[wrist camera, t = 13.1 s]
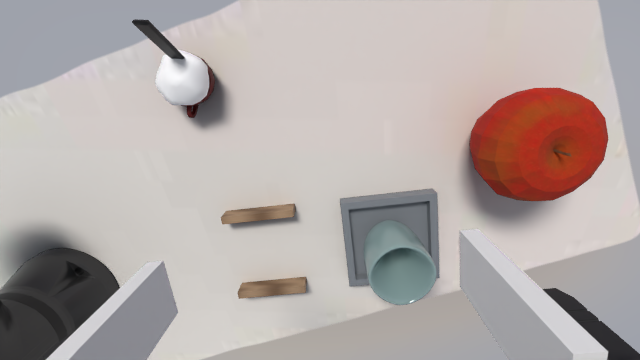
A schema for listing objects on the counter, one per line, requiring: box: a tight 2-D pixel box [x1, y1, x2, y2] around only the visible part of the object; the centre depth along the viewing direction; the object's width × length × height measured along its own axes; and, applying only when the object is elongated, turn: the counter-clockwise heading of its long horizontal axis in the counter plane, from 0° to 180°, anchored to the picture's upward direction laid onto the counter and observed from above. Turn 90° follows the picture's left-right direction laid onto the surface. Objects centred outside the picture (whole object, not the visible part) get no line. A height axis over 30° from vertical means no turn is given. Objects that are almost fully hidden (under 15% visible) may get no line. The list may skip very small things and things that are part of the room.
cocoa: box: [132, 20, 215, 118], centre depth 36 cm, size 10×6×12 cm, turn 156°
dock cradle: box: [340, 189, 439, 286], centre depth 46 cm, size 13×13×2 cm
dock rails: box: [221, 204, 307, 299], centre depth 47 cm, size 10×13×2 cm
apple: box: [470, 88, 608, 201], centre depth 36 cm, size 12×12×14 cm
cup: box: [363, 220, 437, 305], centre depth 42 cm, size 8×8×10 cm
